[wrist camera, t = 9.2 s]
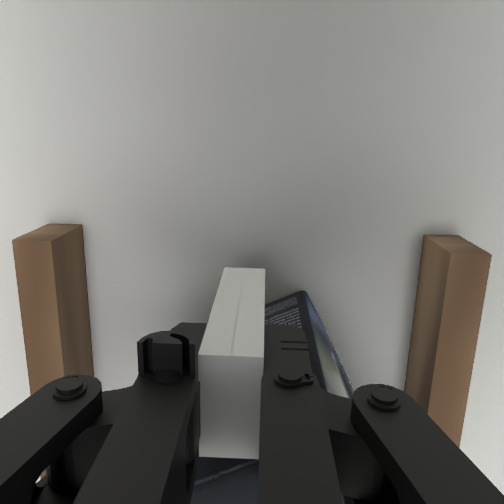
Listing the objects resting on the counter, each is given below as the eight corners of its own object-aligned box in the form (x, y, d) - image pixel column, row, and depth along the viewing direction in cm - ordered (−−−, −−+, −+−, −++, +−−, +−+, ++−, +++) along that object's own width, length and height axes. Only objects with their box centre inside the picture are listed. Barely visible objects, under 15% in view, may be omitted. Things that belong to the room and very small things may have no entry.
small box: (391, 464, 23) (487, 728, 13) (272, 505, 24) (276, 781, 14) (311, 282, 21) (351, 433, 11) (182, 335, 22) (106, 520, 11)
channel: (459, 235, 20) (520, 271, 15) (412, 554, 25) (447, 659, 20) (48, 223, 20) (-20, 254, 16) (79, 538, 25) (34, 636, 20)
